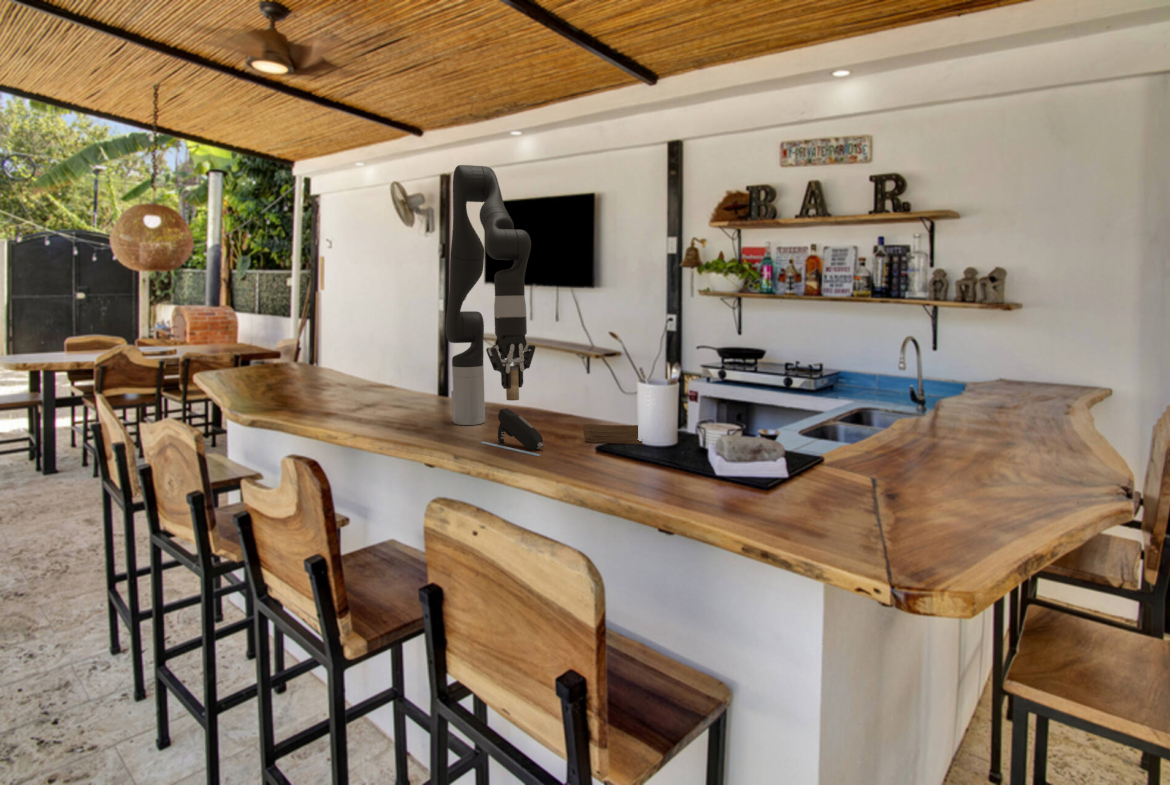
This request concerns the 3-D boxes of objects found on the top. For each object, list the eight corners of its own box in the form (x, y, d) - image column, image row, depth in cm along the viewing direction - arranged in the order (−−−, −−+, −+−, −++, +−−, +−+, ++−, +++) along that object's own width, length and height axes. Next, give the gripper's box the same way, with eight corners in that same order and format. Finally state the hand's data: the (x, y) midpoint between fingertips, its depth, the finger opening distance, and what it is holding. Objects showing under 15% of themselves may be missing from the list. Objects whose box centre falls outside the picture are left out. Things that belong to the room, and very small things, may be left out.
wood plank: (643, 443, 178) (643, 424, 177) (642, 445, 176) (642, 425, 175) (584, 441, 181) (584, 422, 180) (583, 443, 179) (582, 424, 178)
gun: (528, 471, 172) (541, 439, 168) (488, 435, 180) (500, 403, 176) (536, 469, 174) (549, 437, 170) (496, 433, 182) (508, 402, 178)
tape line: (480, 442, 179) (480, 442, 179) (483, 442, 180) (483, 441, 180) (537, 456, 164) (537, 455, 164) (540, 455, 165) (540, 454, 165)
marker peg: (503, 399, 166) (502, 366, 165) (513, 398, 168) (512, 365, 167) (511, 400, 163) (510, 367, 162) (522, 399, 166) (521, 366, 165)
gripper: (522, 315, 171) (524, 384, 173) (476, 316, 161) (479, 389, 163) (543, 314, 165) (544, 386, 167) (496, 315, 156) (499, 392, 158)
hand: (512, 387), depth 165 cm, fingers closed on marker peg, 3 cm apart
